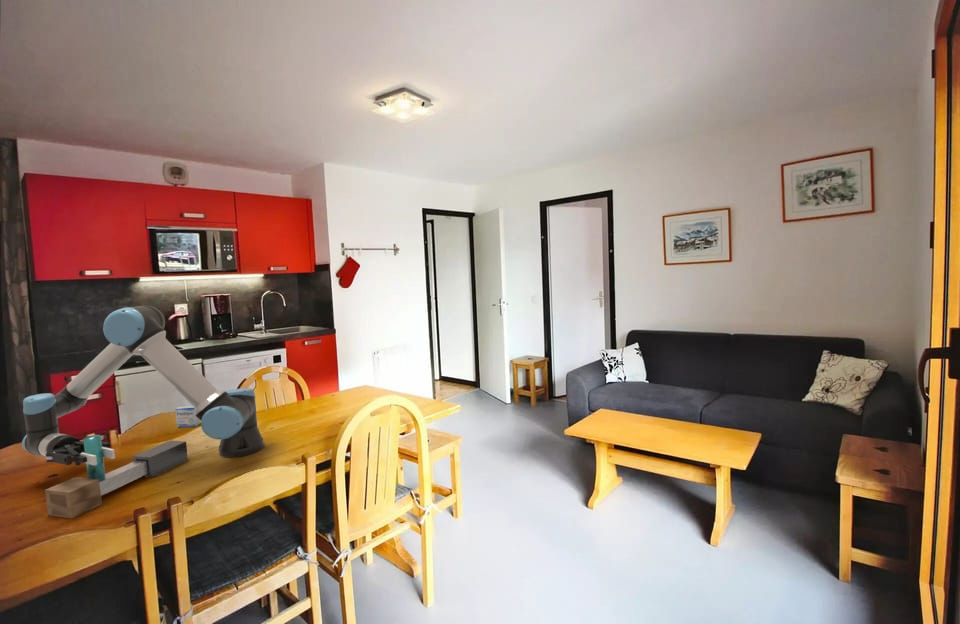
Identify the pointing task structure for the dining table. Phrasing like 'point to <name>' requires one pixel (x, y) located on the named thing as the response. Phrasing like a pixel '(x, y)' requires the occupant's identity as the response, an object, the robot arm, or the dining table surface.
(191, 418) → the medicine box
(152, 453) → the sleeve
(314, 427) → the dining table surface
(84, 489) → the socket block
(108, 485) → the sliding bar with handle
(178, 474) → the dining table surface
